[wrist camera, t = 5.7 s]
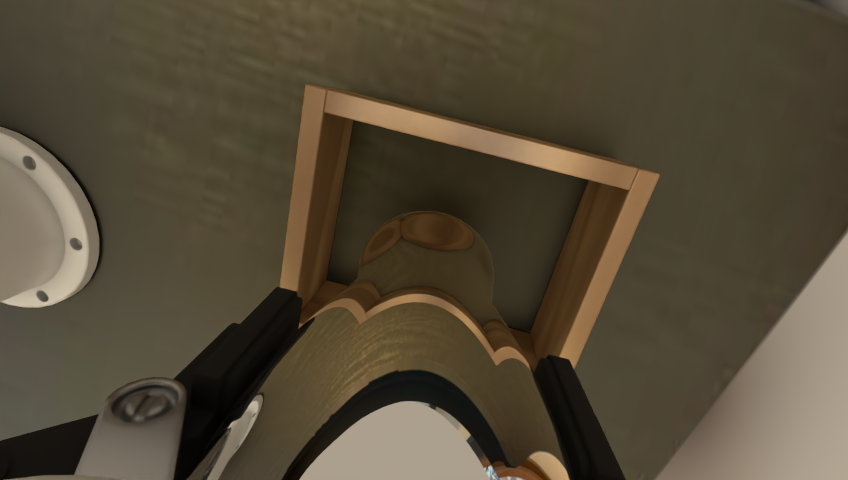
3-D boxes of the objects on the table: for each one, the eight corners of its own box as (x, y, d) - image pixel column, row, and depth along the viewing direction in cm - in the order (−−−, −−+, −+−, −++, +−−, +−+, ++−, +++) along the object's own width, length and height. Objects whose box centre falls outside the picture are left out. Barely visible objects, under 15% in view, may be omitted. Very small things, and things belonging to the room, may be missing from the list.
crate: (310, 288, 27) (273, 332, 21) (341, 89, 22) (304, 83, 17) (539, 348, 26) (557, 407, 21) (615, 159, 22) (661, 174, 17)
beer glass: (376, 176, 17) (-81, 575, 2) (529, 231, 17) (933, 881, 3) (333, 312, 19) (-34, 938, 5) (469, 359, 19) (517, 1083, 5)
